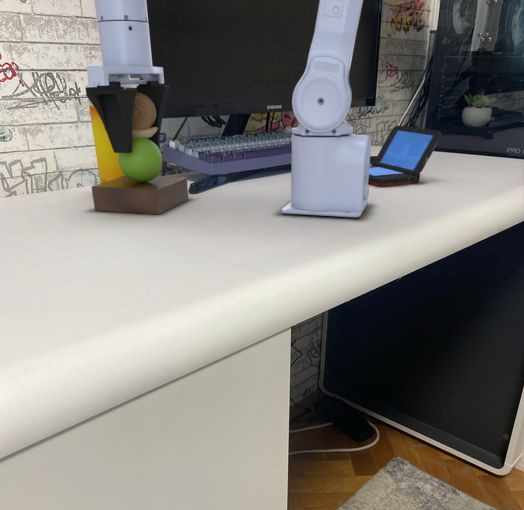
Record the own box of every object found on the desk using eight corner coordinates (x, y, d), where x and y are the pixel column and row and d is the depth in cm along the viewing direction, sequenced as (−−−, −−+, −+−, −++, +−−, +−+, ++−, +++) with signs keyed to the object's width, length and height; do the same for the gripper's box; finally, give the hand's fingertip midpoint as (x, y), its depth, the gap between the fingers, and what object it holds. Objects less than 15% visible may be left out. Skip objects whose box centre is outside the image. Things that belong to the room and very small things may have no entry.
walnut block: (188, 200, 73) (187, 177, 72) (158, 214, 65) (156, 189, 64) (130, 196, 75) (127, 174, 74) (94, 210, 68) (91, 186, 66)
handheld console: (337, 175, 90) (339, 127, 87) (391, 170, 94) (395, 125, 90) (378, 187, 80) (383, 134, 76) (437, 182, 83) (444, 130, 80)
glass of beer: (134, 197, 75) (120, 77, 68) (94, 196, 76) (76, 78, 69) (150, 189, 80) (139, 77, 73) (113, 188, 81) (98, 78, 75)
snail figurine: (118, 178, 71) (105, 77, 66) (167, 178, 71) (158, 77, 66) (109, 186, 66) (94, 78, 61) (160, 185, 66) (150, 77, 61)
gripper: (124, 29, 68) (136, 142, 74) (54, 18, 56) (76, 155, 62) (174, 27, 66) (183, 143, 73) (113, 16, 54) (130, 157, 60)
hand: (137, 149), depth 67 cm, fingers open, 7 cm apart
